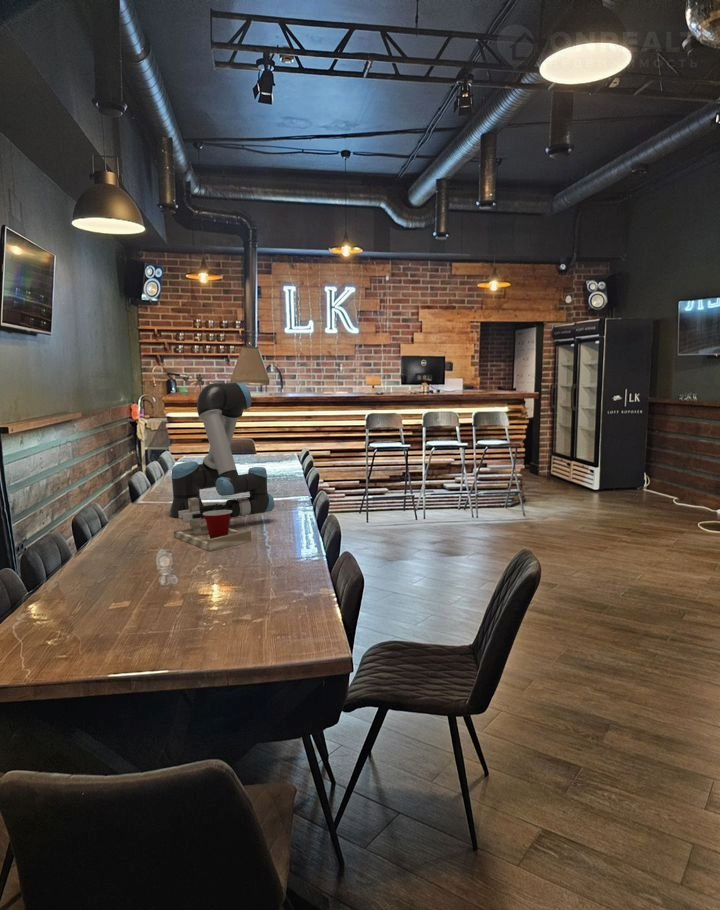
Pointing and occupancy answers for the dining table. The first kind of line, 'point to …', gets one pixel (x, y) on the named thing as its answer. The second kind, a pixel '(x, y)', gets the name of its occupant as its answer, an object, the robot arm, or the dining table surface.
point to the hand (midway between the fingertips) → (181, 516)
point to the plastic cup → (217, 522)
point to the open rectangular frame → (195, 528)
